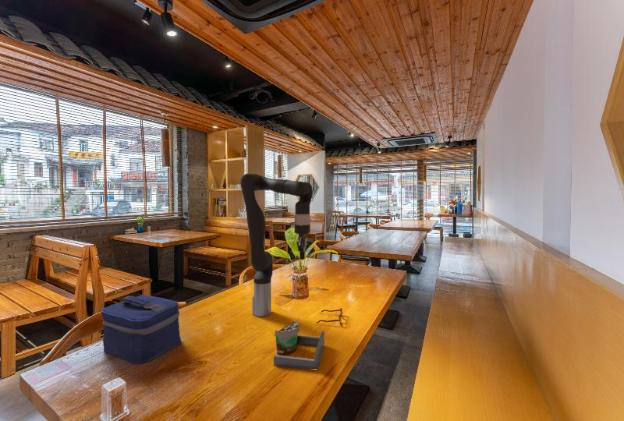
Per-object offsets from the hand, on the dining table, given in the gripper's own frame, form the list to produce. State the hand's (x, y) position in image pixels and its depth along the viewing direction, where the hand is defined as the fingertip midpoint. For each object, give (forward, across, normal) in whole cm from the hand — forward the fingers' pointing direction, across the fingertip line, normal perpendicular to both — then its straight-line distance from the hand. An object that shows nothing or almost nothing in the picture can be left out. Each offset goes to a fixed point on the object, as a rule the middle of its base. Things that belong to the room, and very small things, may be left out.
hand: (302, 259), depth 133 cm
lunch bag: (+33, +30, -62) cm, 77 cm away
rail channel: (+33, +24, +5) cm, 41 cm away
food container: (+33, +22, 0) cm, 40 cm away
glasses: (+34, -10, +12) cm, 37 cm away
